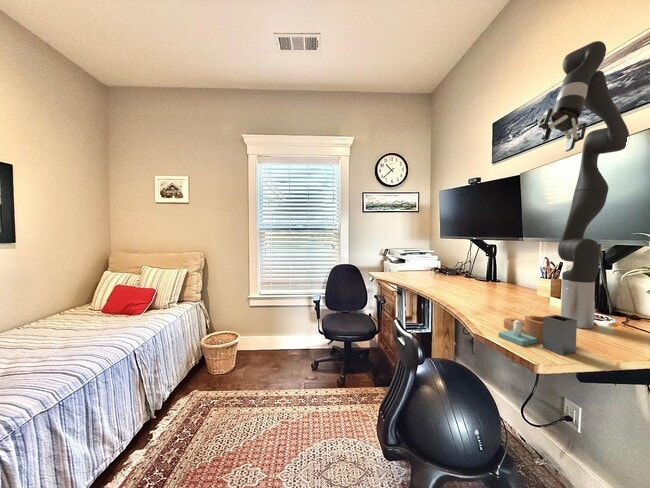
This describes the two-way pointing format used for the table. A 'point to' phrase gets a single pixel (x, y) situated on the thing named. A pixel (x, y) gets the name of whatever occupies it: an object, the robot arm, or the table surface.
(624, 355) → the table surface
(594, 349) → the table surface
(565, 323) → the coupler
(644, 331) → the table surface
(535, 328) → the bracket
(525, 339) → the shaft mount
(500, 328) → the table surface
